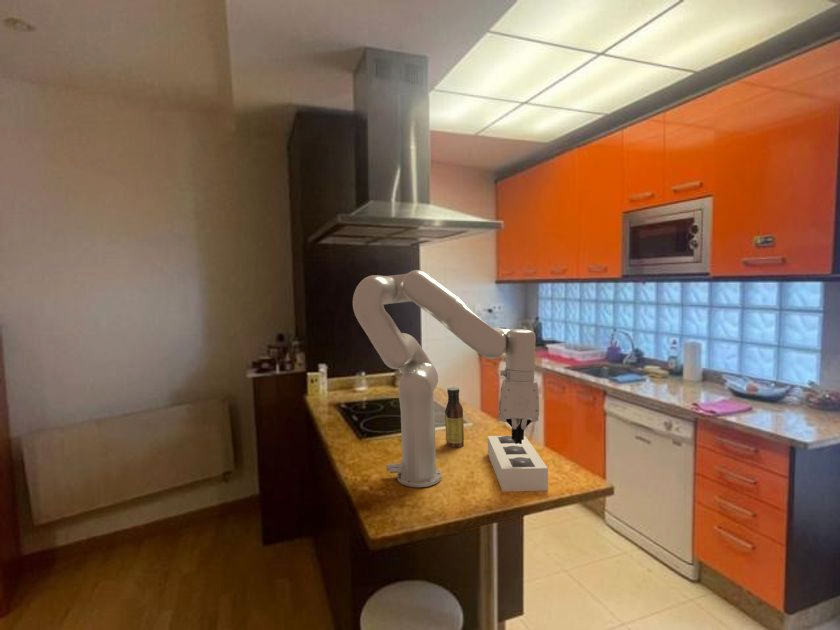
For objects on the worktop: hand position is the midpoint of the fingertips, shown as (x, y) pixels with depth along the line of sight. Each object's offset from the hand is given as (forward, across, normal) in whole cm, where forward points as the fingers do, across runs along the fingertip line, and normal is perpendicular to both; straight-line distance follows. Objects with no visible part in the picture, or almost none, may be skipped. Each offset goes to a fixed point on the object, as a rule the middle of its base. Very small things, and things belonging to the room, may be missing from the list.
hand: (517, 442), depth 118 cm
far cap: (+11, +1, +18) cm, 21 cm away
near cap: (+11, +1, 0) cm, 11 cm away
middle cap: (+11, +1, +9) cm, 14 cm away
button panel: (+12, +2, +9) cm, 15 cm away
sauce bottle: (+13, -14, +31) cm, 36 cm away
